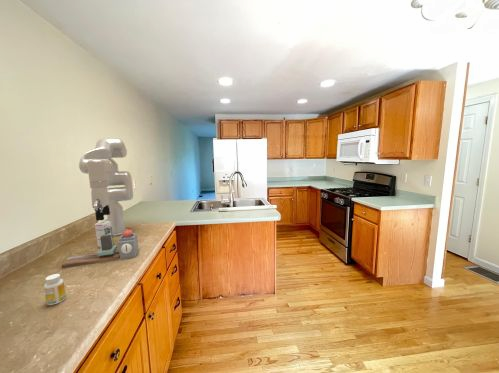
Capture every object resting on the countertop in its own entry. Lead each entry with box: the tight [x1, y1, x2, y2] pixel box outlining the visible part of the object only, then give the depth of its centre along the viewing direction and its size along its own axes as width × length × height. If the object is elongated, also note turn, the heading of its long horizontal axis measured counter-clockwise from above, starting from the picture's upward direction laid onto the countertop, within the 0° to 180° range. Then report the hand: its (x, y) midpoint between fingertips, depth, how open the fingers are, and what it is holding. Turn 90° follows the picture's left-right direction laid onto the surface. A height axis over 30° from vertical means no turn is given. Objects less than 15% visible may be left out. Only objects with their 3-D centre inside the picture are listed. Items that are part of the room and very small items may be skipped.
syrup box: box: [94, 220, 114, 248], centre depth 127 cm, size 6×6×14 cm
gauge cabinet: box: [117, 232, 139, 260], centre depth 115 cm, size 11×7×10 cm, turn 18°
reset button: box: [122, 229, 133, 237], centre depth 114 cm, size 4×4×2 cm
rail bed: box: [61, 249, 121, 269], centre depth 111 cm, size 10×24×3 cm, turn 109°
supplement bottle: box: [43, 273, 67, 306], centre depth 79 cm, size 5×5×10 cm
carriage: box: [96, 235, 118, 256], centre depth 112 cm, size 8×7×9 cm
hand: (103, 217), depth 110 cm, fingers open, 9 cm apart
